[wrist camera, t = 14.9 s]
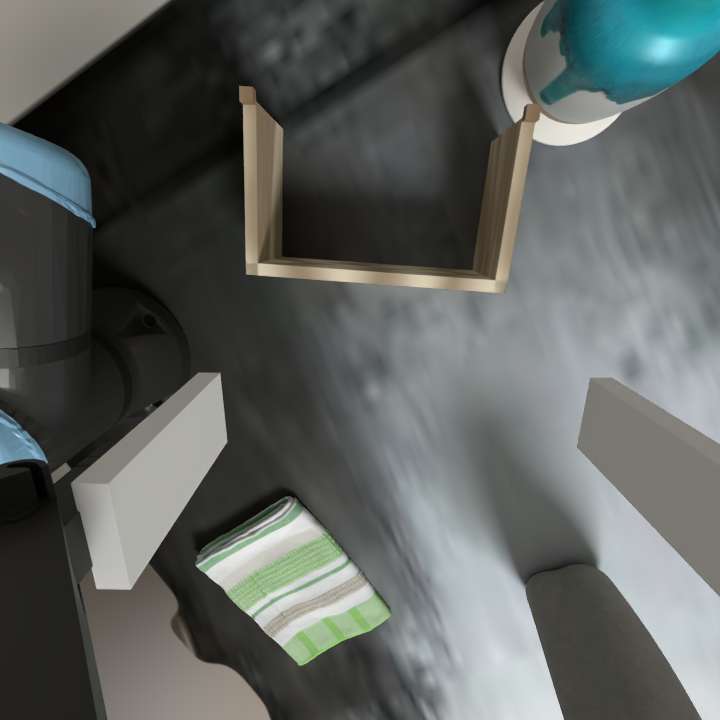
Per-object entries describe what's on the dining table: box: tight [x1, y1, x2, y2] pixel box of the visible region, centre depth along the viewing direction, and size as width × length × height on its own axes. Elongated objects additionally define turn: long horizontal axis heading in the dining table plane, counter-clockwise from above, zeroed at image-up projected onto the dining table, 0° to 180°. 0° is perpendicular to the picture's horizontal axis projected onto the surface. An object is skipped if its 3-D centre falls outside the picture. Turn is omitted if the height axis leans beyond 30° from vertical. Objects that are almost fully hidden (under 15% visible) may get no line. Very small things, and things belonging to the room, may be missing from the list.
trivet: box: [501, 1, 621, 146], centre depth 37 cm, size 12×12×1 cm
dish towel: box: [196, 496, 391, 666], centre depth 55 cm, size 17×23×4 cm
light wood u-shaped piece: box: [239, 86, 542, 293], centre depth 36 cm, size 22×14×10 cm, turn 86°
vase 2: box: [526, 564, 702, 720], centre depth 40 cm, size 12×12×30 cm
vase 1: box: [522, 0, 720, 124], centre depth 27 cm, size 11×11×19 cm
